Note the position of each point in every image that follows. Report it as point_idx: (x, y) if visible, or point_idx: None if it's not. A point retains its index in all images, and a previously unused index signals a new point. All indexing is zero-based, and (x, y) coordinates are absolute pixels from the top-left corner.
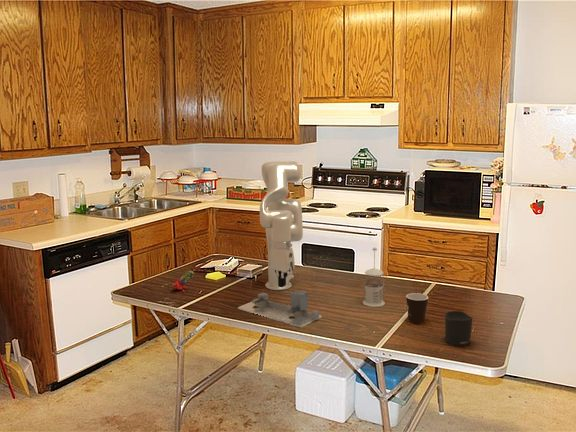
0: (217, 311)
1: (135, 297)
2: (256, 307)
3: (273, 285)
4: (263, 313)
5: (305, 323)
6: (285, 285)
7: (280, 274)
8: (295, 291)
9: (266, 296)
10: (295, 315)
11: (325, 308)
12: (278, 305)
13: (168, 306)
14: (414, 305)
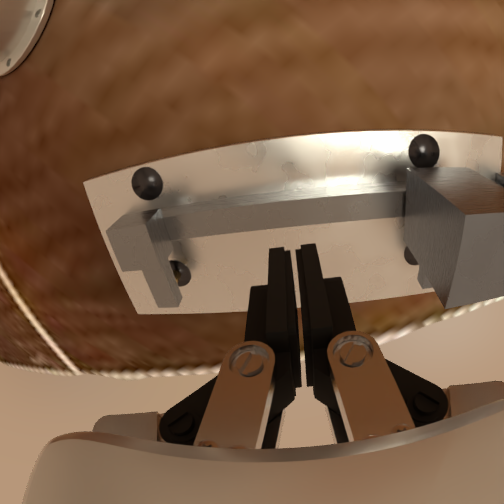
0: (132, 352)
1: (14, 362)
2: (184, 274)
3: (8, 51)
4: None
5: None
6: (315, 247)
7: (275, 404)
8: (462, 260)
9: (156, 234)
10: None
11: (439, 14)
12: (284, 226)
13: (63, 373)
14: None
